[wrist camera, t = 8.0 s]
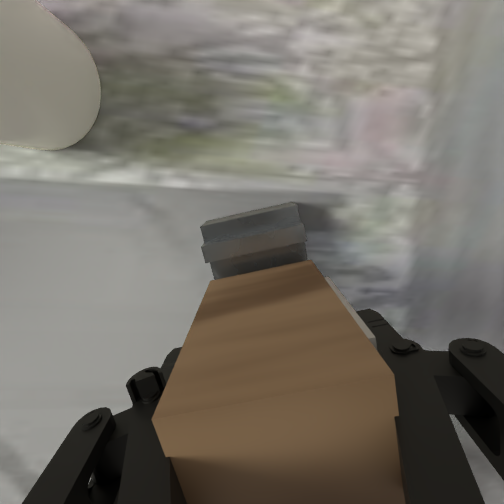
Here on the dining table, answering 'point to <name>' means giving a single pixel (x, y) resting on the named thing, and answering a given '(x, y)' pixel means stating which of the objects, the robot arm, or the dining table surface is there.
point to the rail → (254, 240)
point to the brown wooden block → (280, 398)
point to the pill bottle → (44, 79)
